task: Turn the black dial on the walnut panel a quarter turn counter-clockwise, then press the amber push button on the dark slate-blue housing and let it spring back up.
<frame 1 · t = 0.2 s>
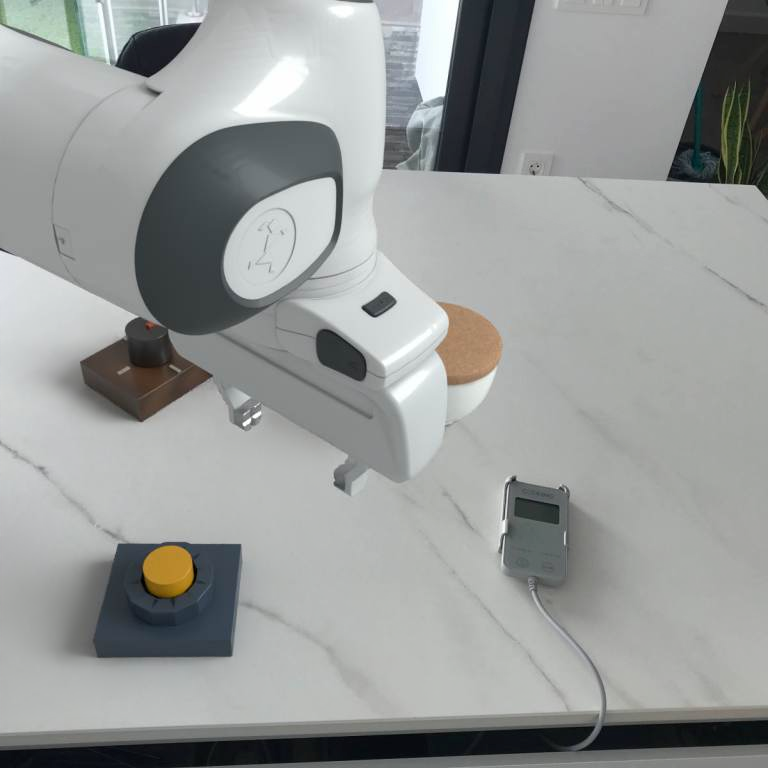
hand: (296, 453, 53), 16 cm above the table, tool pointing down, fingers open, 8 cm apart
button housing: (174, 605, 62), on the table
sprinkles bottle: (312, 372, 86), on the table
trigger button: (168, 571, 59), point 4 cm above the table, slide at 0.1 cm
decorative box: (429, 405, 83), on the table
dial: (149, 340, 80), point 5 cm above the table, hinge at 0.0°
dial panel: (154, 377, 83), on the table
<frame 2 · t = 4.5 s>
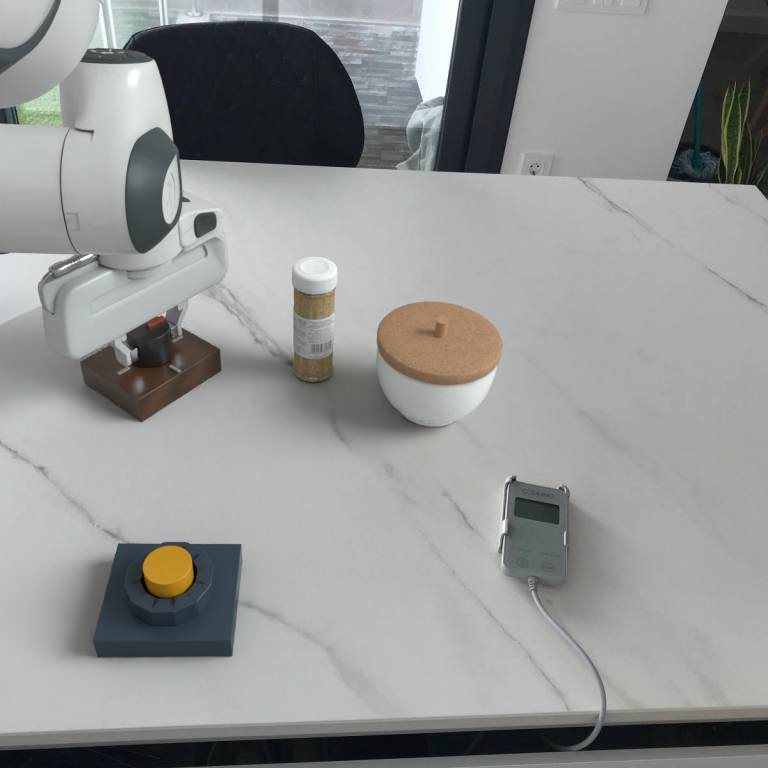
hand: (150, 348, 81), 4 cm above the table, tool pointing down, fingers closed on dial, 4 cm apart
dial: (149, 340, 80), point 5 cm above the table, hinge at 0.0°, touching gripper
everything else where it was.
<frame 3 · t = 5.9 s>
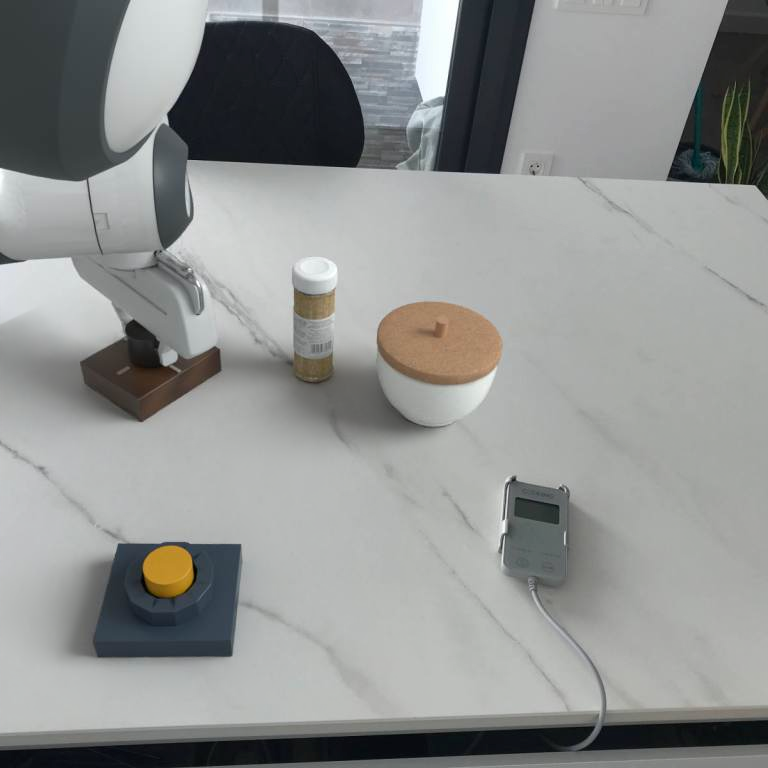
hand: (150, 347, 81), 4 cm above the table, tool pointing down, fingers closed on dial, 4 cm apart
dial: (149, 340, 80), point 5 cm above the table, hinge at 82.8°, touching gripper
everything else where it was.
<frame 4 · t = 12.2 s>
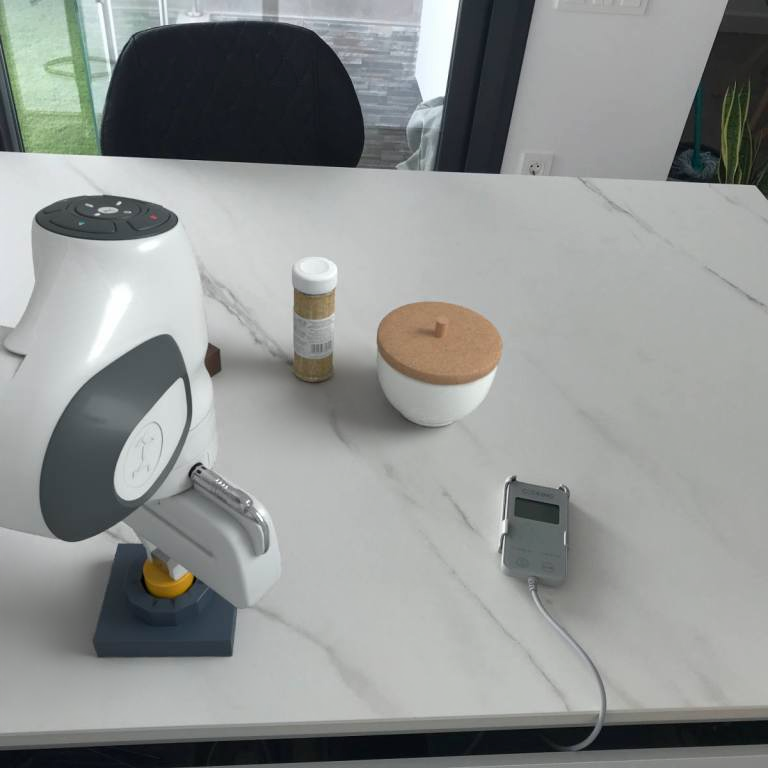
hand: (170, 565, 59), 5 cm above the table, tool pointing down, fingers closed, pressing on trigger button
trigger button: (169, 573, 59), point 4 cm above the table, slide at -0.2 cm, touching gripper
dial: (149, 340, 80), point 5 cm above the table, hinge at 93.1°
everything else where it was.
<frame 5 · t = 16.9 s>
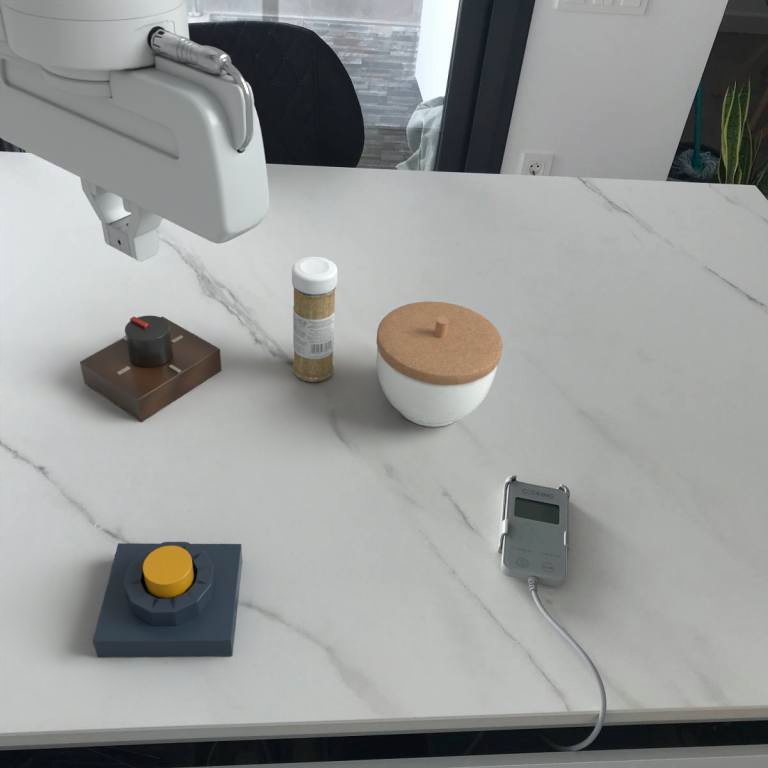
hand: (133, 250, 48), 29 cm above the table, tool pointing down, fingers closed
trigger button: (168, 571, 59), point 4 cm above the table, slide at 0.1 cm
everything else where it was.
at the end: dial at +93° (first picture: +0°); trigger button pushed in 1.1 cm at the most during the clip, back to where it started at the end; trigger button slide at 0.1 cm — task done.
